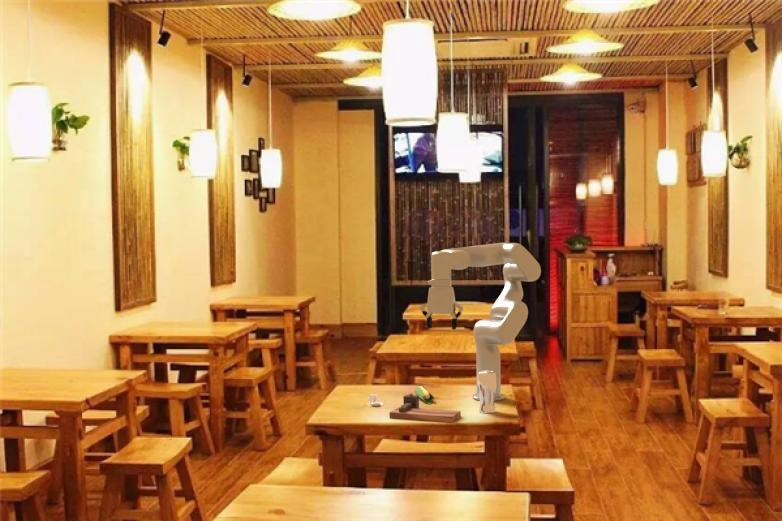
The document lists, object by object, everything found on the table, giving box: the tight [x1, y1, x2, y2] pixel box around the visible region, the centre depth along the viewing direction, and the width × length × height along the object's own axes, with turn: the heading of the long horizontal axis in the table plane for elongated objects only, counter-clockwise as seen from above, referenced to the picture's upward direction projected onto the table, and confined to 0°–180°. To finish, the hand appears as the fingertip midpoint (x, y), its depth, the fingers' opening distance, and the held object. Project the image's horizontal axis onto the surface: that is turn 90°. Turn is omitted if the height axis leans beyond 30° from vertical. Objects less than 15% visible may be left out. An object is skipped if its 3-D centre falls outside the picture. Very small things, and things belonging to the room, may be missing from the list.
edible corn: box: [413, 384, 435, 405], centre depth 387 cm, size 5×20×5 cm, turn 11°
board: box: [389, 406, 462, 423], centre depth 355 cm, size 10×24×2 cm, turn 69°
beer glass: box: [478, 370, 496, 414], centre depth 363 cm, size 7×7×15 cm
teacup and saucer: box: [368, 393, 384, 407], centre depth 379 cm, size 9×8×4 cm
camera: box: [399, 392, 420, 412], centre depth 360 cm, size 12×5×7 cm, turn 159°
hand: (442, 328), depth 370 cm, fingers open, 9 cm apart
